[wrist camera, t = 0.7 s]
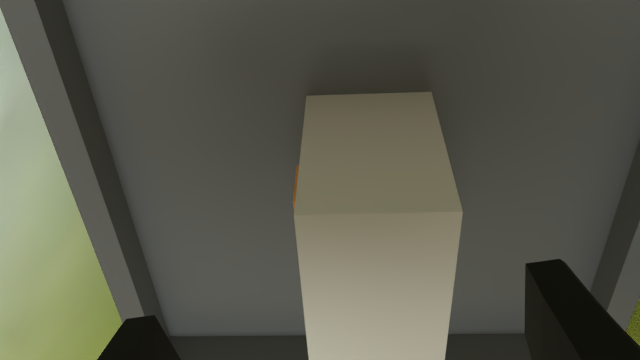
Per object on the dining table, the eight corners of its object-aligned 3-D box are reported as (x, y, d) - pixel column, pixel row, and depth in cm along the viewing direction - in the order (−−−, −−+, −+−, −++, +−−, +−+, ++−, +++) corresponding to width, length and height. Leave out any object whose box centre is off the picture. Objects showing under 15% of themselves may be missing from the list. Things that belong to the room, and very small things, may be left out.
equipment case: (527, 518, 37) (536, 553, 35) (215, 515, 38) (210, 549, 36) (774, -183, 14) (829, -175, 13) (-10, -139, 15) (-52, -126, 14)
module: (421, 232, 22) (443, 367, 17) (312, 234, 22) (304, 368, 17) (431, 91, 18) (463, 211, 14) (301, 95, 19) (287, 215, 14)
